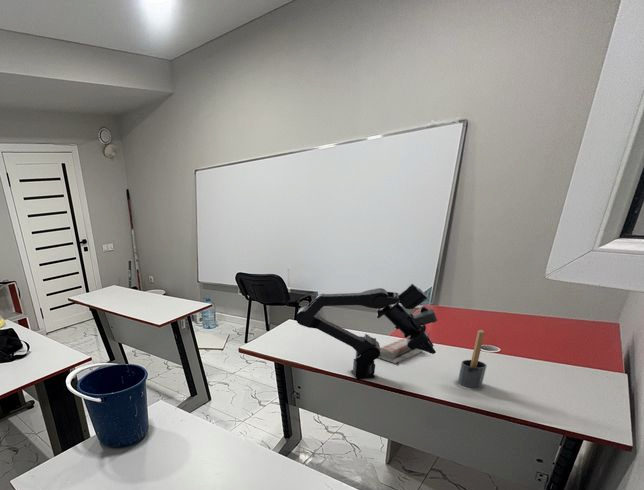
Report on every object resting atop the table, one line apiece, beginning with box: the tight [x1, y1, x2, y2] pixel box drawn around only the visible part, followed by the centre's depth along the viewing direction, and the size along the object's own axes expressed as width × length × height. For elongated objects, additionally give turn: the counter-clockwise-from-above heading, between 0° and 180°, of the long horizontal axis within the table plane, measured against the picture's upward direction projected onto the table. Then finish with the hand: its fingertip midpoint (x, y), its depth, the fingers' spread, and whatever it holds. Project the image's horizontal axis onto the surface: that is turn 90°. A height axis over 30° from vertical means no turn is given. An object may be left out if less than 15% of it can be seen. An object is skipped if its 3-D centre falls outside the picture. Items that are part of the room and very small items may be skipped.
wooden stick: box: [470, 329, 485, 368], centre depth 117 cm, size 1×2×19 cm, turn 153°
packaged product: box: [377, 338, 424, 364], centre depth 147 cm, size 18×5×10 cm
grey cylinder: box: [457, 359, 488, 389], centre depth 119 cm, size 6×6×8 cm
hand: (433, 349), depth 122 cm, fingers open, 5 cm apart
